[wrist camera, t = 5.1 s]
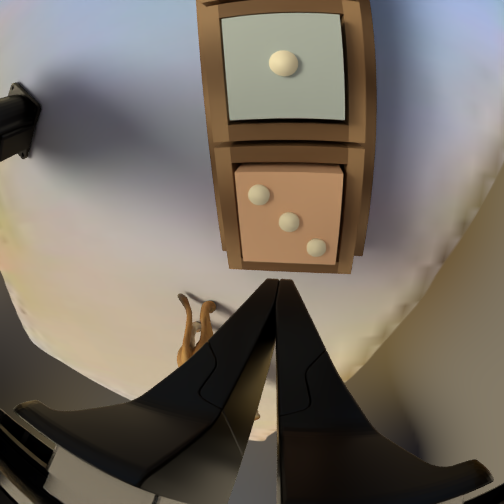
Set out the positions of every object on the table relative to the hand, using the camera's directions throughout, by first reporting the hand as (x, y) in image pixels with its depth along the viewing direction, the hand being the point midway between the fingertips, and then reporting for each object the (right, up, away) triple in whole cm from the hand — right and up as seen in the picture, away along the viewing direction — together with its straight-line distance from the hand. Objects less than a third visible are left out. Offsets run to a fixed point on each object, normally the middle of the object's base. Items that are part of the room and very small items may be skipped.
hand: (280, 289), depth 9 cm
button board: (+1, +12, +5) cm, 13 cm away
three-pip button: (+1, +4, +6) cm, 7 cm away
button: (+1, +10, +2) cm, 10 cm away
